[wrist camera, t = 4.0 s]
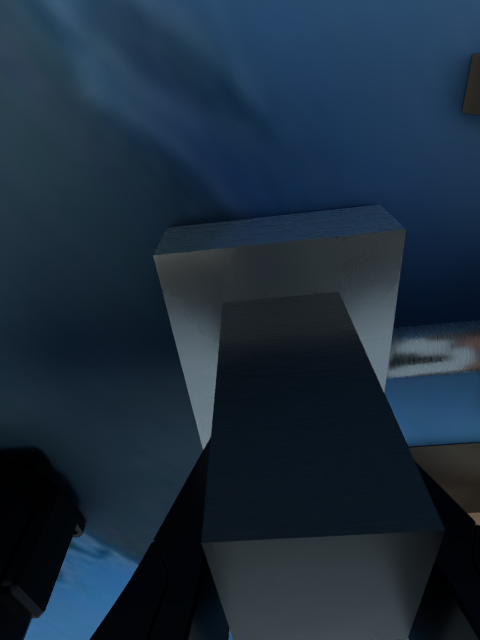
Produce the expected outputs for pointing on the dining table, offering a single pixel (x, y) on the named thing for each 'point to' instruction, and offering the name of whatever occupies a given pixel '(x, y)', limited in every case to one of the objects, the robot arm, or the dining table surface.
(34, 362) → the dining table surface
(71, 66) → the dining table surface
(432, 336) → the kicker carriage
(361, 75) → the dining table surface
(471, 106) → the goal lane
